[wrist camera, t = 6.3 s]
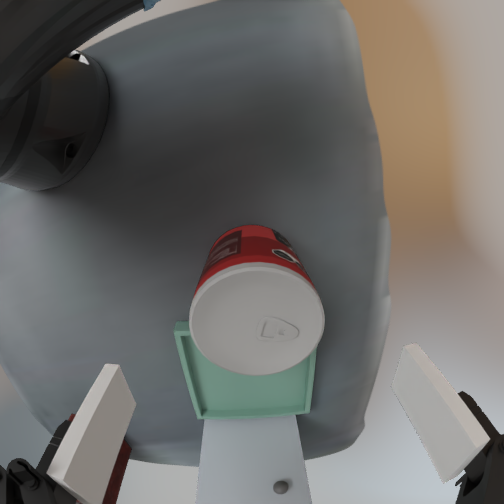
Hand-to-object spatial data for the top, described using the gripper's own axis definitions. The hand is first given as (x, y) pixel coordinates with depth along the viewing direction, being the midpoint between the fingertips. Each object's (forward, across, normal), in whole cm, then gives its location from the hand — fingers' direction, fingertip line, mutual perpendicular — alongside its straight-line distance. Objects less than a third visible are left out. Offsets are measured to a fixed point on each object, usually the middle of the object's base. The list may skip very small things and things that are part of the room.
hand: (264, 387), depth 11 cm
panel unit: (+16, -2, -23) cm, 28 cm away
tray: (+16, -1, -13) cm, 20 cm away
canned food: (+16, 0, 0) cm, 16 cm away
